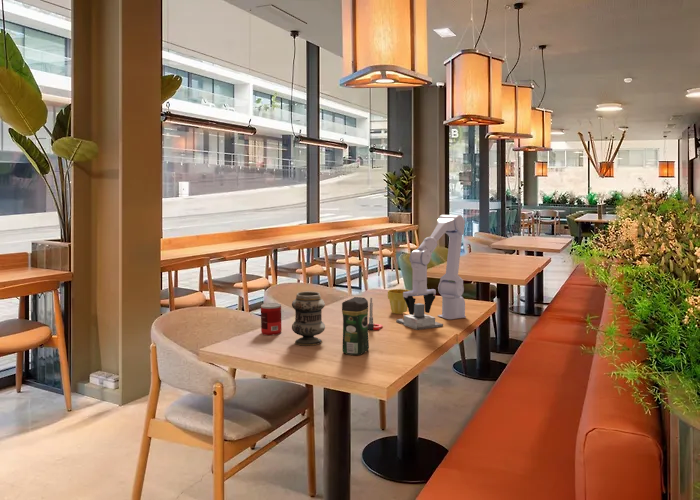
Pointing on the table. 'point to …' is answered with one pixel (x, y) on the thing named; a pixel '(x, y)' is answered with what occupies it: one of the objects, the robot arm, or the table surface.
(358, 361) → the table surface
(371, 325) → the tow hook
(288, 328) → the table surface
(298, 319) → the apothecary jar
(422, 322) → the bracket fixture
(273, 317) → the canned food
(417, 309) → the pin
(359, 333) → the coffee jar
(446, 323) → the table surface
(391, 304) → the plant pot
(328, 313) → the table surface
